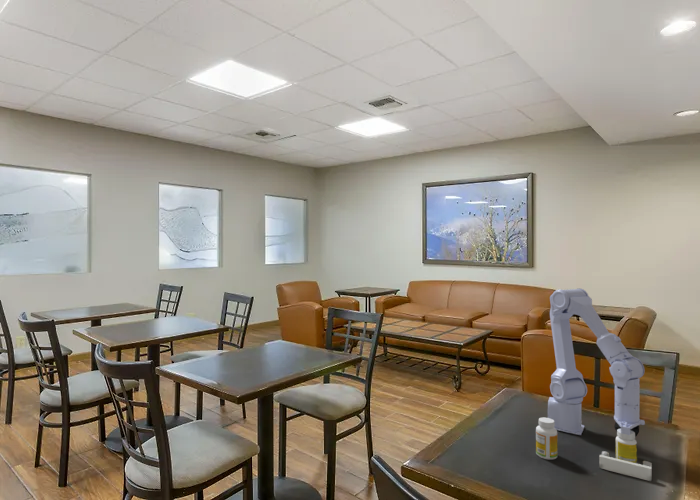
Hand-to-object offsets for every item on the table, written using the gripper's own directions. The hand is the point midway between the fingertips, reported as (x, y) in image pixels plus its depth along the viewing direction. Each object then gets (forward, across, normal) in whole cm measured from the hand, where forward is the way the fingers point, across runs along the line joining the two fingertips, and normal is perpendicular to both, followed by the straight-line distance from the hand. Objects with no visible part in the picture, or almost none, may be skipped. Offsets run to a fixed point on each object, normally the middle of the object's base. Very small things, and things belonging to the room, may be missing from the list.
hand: (626, 451), depth 117 cm
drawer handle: (+1, -8, 0) cm, 8 cm away
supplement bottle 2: (+1, -5, 0) cm, 5 cm away
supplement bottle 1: (+1, -13, +18) cm, 22 cm away
